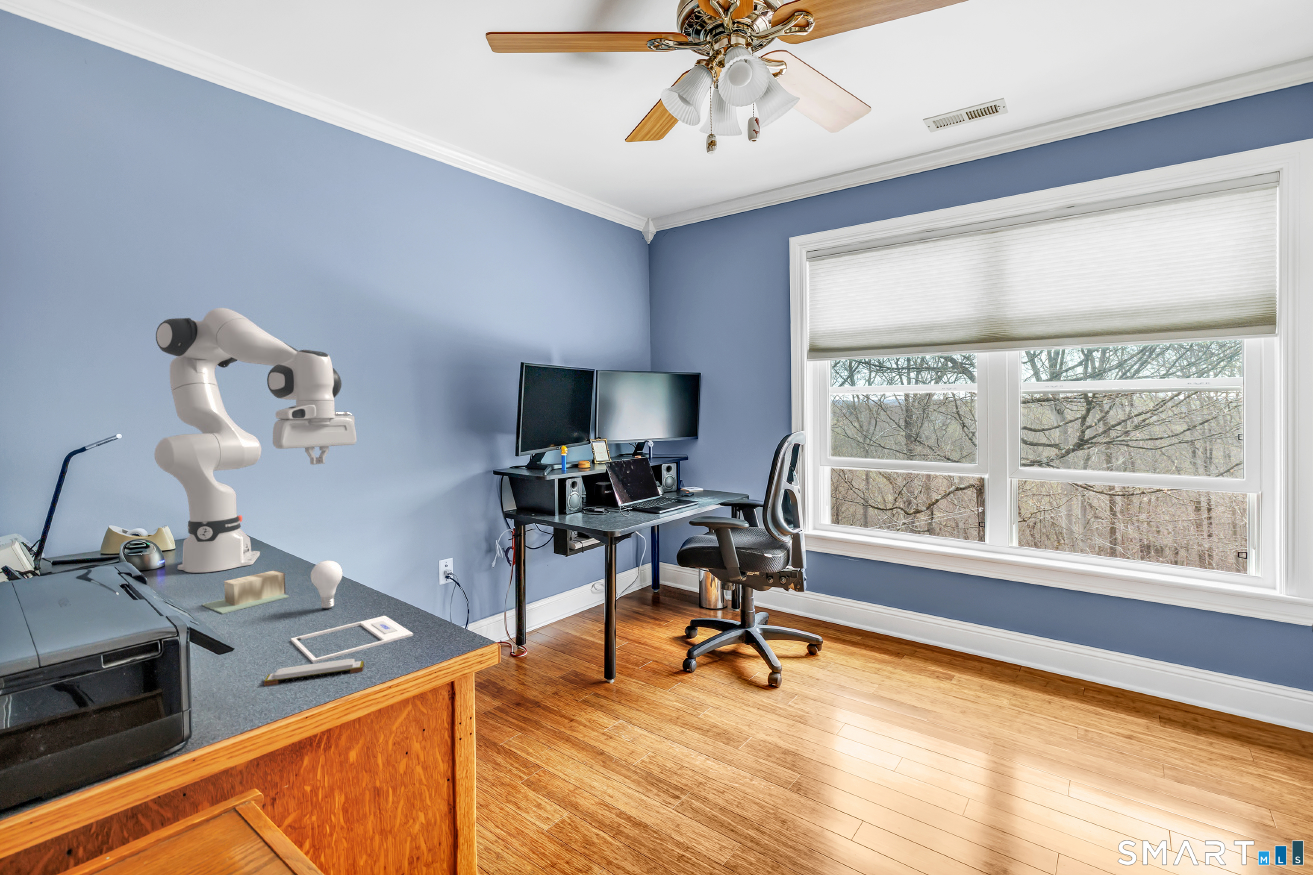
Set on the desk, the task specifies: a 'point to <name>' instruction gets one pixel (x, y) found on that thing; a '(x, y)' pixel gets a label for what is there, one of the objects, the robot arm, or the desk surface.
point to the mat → (226, 607)
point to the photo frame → (377, 626)
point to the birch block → (254, 587)
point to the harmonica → (314, 671)
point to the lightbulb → (326, 581)
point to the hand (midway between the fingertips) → (317, 464)
